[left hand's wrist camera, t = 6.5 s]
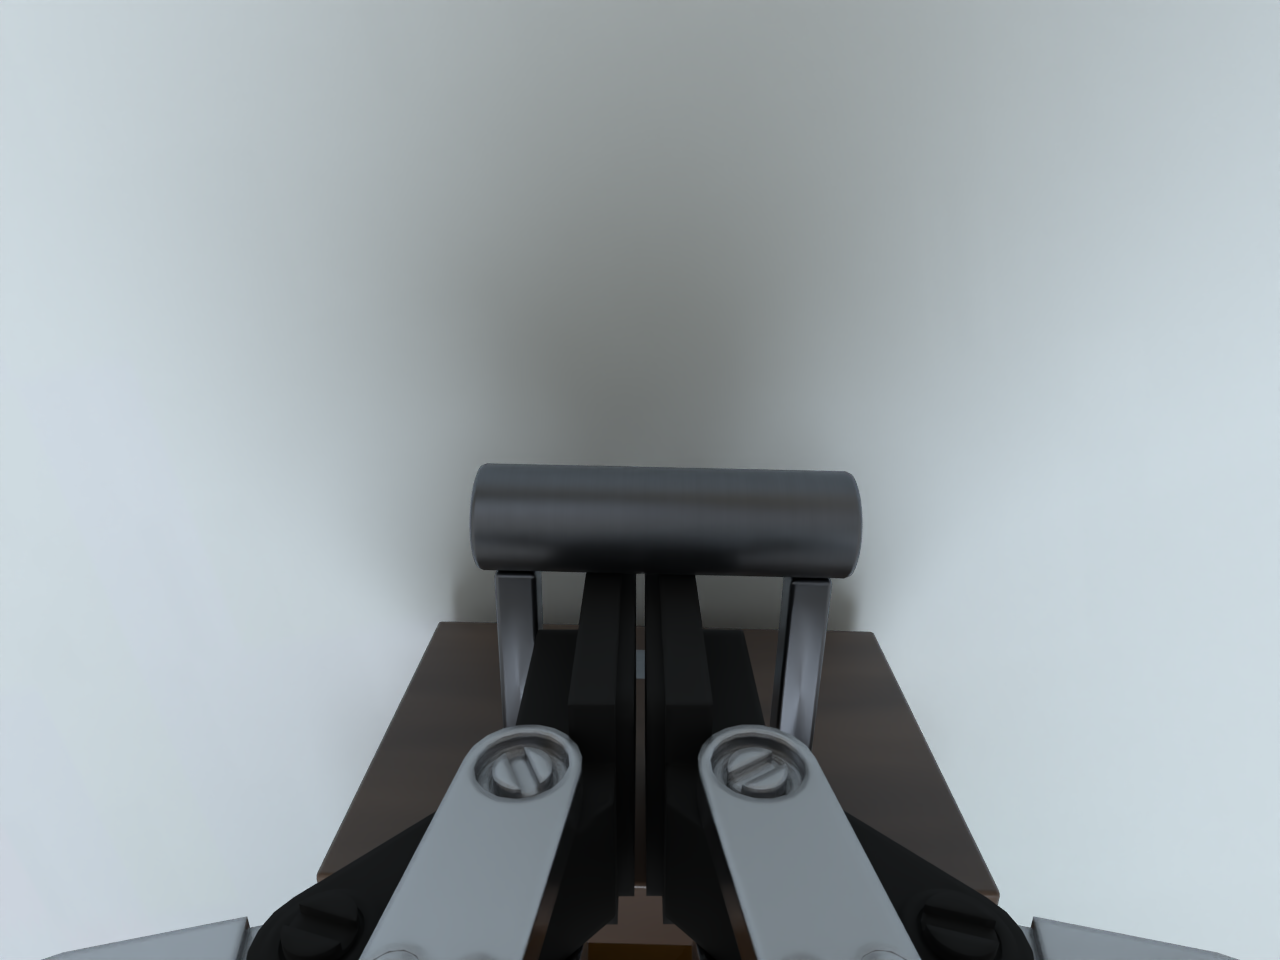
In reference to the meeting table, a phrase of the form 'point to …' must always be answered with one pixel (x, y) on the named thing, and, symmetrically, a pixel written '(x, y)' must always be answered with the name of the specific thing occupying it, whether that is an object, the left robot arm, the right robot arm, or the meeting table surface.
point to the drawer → (645, 544)
